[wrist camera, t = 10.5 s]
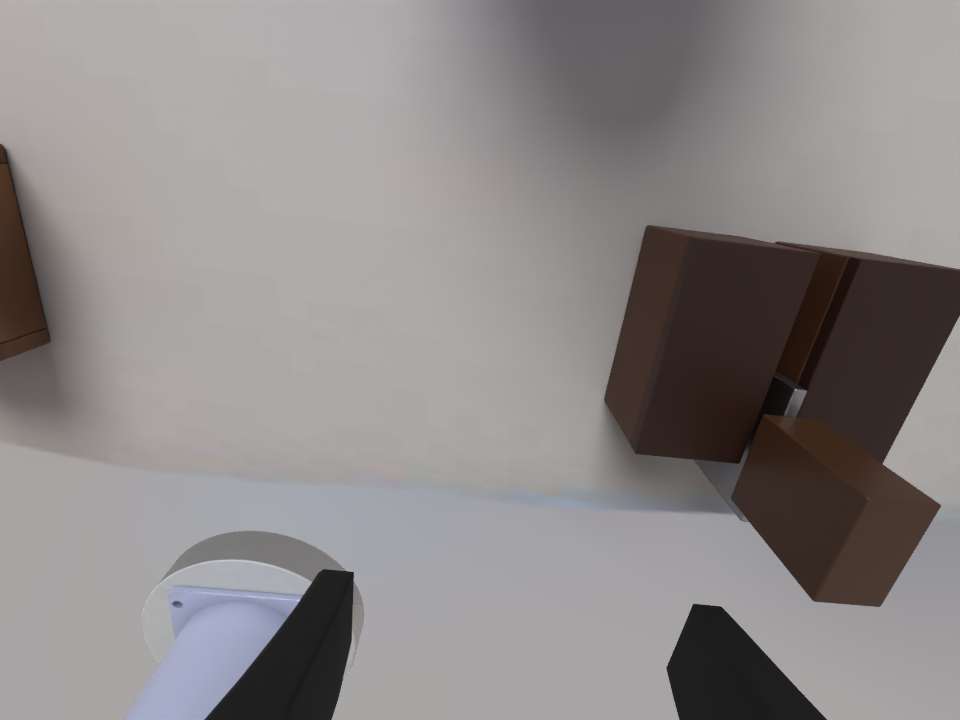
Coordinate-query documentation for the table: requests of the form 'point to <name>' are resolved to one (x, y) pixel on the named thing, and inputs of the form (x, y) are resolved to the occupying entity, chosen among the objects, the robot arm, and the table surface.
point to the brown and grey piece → (822, 503)
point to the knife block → (16, 279)
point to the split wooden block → (772, 341)
